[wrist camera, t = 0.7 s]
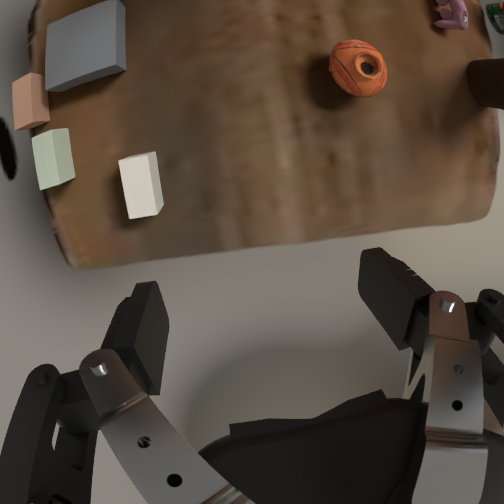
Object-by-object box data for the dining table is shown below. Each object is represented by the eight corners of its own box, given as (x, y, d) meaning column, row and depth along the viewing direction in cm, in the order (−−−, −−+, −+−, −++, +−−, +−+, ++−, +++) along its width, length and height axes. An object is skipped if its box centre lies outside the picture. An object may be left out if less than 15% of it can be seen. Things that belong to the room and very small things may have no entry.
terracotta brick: (29, 84, 24) (12, 83, 20) (47, 75, 24) (30, 72, 20) (32, 128, 27) (14, 130, 23) (50, 120, 27) (32, 121, 23)
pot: (386, 84, 30) (407, 86, 25) (340, 103, 33) (354, 108, 27) (359, 35, 27) (376, 27, 21) (311, 54, 29) (320, 48, 24)
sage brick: (49, 135, 28) (31, 137, 24) (68, 127, 28) (51, 129, 24) (56, 182, 31) (40, 190, 27) (75, 177, 31) (60, 184, 27)
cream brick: (129, 156, 31) (118, 160, 27) (155, 151, 32) (147, 154, 28) (138, 208, 34) (129, 219, 30) (163, 204, 35) (157, 214, 31)
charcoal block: (61, 31, 21) (47, 25, 17) (125, 8, 22) (116, -3, 18) (60, 92, 25) (45, 90, 22) (126, 70, 26) (116, 64, 23)
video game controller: (441, 32, 27) (475, 32, 22) (433, 26, 25) (470, 25, 20) (426, -11, 23) (458, -14, 17) (417, -20, 21) (451, -23, 15)
